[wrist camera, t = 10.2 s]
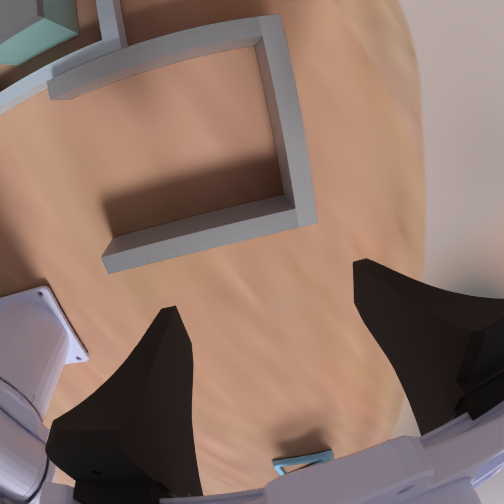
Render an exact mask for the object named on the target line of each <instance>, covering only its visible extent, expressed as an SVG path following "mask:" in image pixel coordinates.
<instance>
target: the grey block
mask: <svg viewBox="0 0 504 504" xmlns="http://www.w3.org/2000/svg"><path fill="white" fill-rule="evenodd" d="M78 35H80V34H79V27H78V20H77V13H76V5H75V0H0V64H7V65H16V66H20V65H21V64H23V63H25V62H26V61H28V60H30V59H32V58H34V57H35V56H37V55H39V54H41V53H43V52H45V51H47V50H48V49H50V48H52V47H54V46H56V45H58V44H60V43H62V42H65V41H67V40H69V39H71V38H73V37H75V36H78Z"/></svg>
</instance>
